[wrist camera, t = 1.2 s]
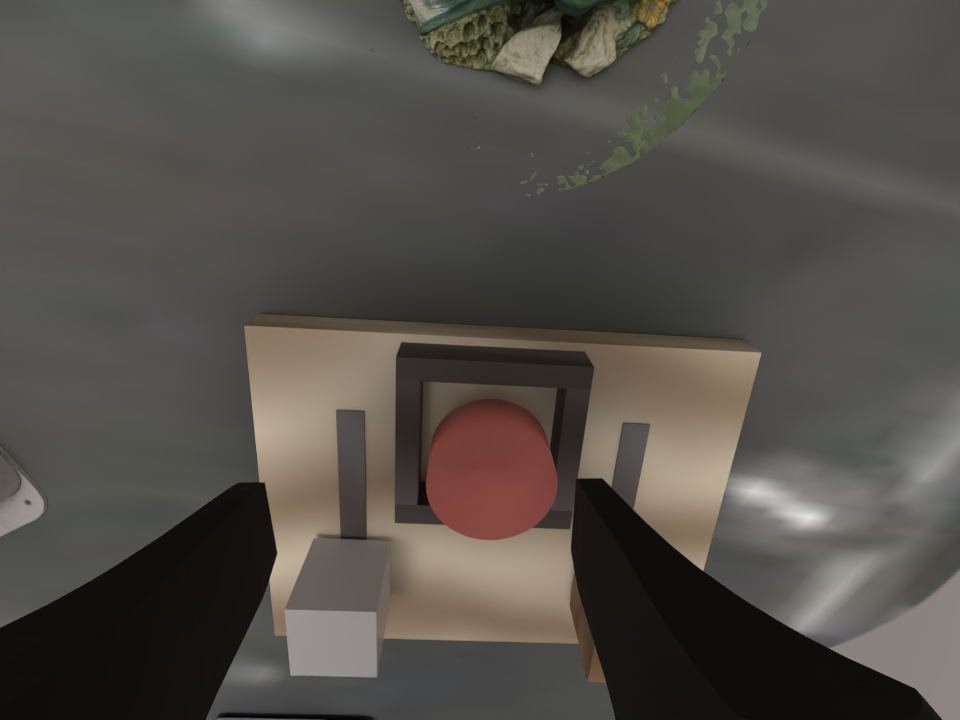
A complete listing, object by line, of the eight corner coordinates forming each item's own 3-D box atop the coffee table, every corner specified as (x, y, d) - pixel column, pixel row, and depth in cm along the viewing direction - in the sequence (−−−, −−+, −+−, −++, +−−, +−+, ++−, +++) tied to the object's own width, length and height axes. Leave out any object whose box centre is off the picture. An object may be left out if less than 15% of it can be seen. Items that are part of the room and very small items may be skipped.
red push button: (541, 504, 19) (550, 542, 17) (428, 499, 18) (424, 537, 16) (554, 401, 17) (565, 431, 15) (432, 395, 17) (427, 424, 15)
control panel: (670, 619, 25) (696, 677, 22) (286, 607, 24) (262, 666, 21) (740, 339, 20) (785, 368, 17) (260, 313, 19) (224, 339, 16)
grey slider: (390, 599, 22) (376, 677, 18) (317, 597, 22) (290, 675, 18) (390, 540, 21) (376, 611, 17) (313, 538, 20) (284, 609, 17)
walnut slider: (639, 606, 22) (669, 684, 19) (569, 604, 22) (587, 682, 19) (652, 549, 21) (686, 621, 18) (578, 547, 21) (599, 618, 18)
